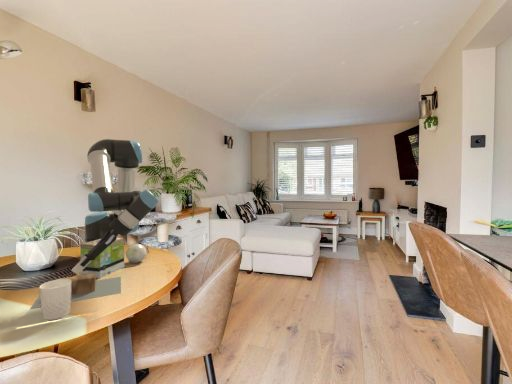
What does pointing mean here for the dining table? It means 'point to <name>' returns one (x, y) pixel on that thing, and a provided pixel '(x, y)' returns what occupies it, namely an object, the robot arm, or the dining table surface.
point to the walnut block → (82, 283)
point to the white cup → (55, 298)
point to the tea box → (104, 258)
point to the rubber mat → (101, 289)
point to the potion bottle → (136, 253)
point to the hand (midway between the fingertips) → (74, 271)
